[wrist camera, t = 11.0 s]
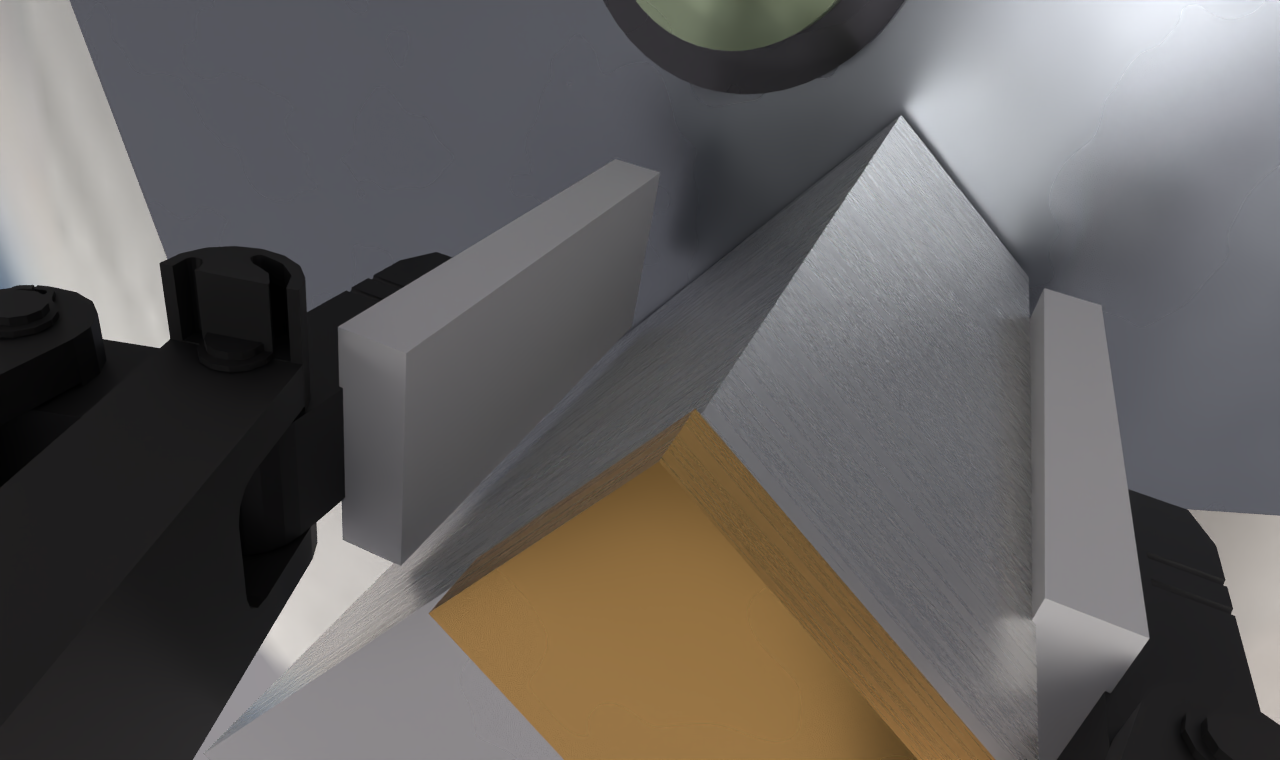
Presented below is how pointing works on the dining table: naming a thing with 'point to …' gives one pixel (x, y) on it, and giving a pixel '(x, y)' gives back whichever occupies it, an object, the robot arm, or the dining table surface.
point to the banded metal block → (733, 524)
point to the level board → (758, 155)
